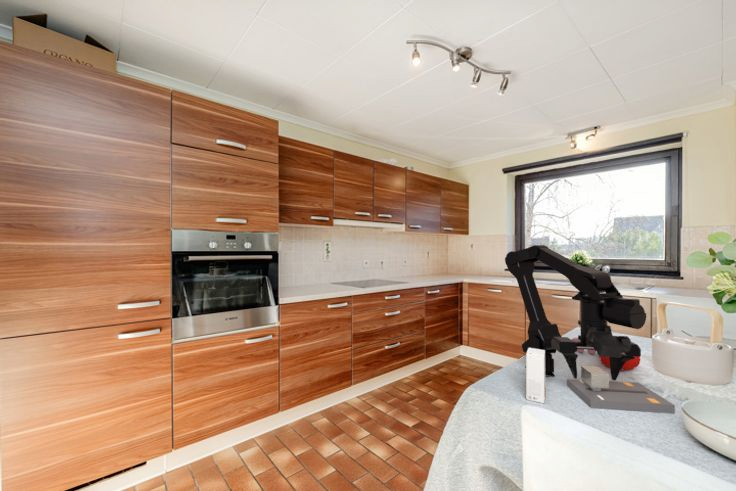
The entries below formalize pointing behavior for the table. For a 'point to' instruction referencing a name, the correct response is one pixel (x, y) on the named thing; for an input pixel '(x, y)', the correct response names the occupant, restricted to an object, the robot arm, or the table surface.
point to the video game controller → (583, 349)
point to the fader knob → (594, 377)
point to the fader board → (621, 397)
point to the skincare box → (535, 375)
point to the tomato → (627, 366)
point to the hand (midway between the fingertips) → (594, 378)
